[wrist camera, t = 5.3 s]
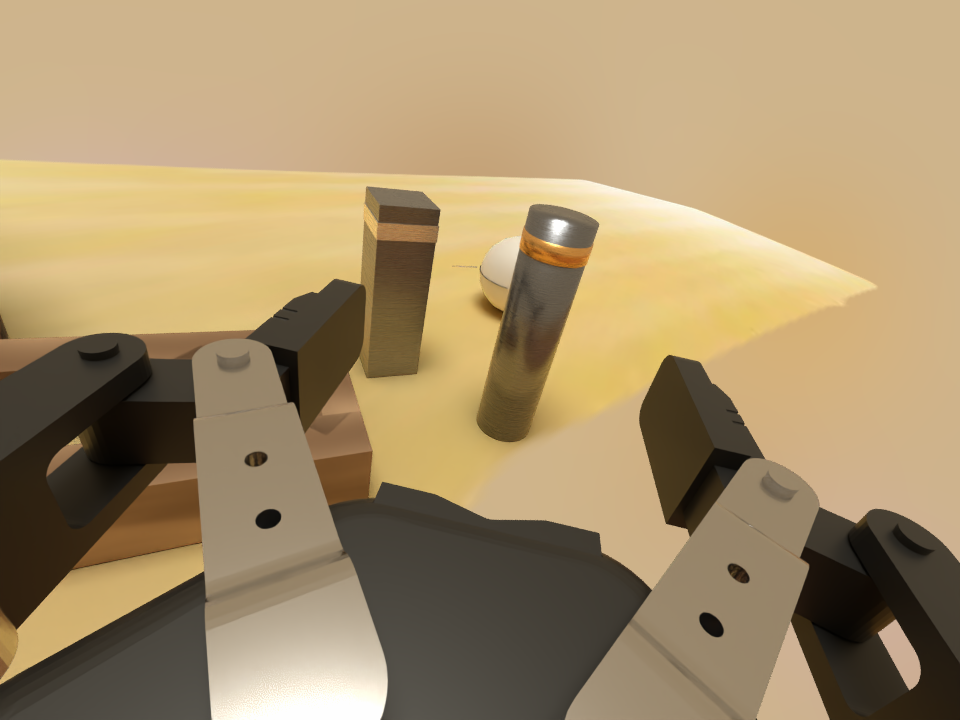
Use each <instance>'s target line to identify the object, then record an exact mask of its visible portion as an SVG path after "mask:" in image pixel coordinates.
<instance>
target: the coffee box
mask: <svg viewBox="0 0 960 720" xmlns="http://www.w3.org/2000/svg"><path fill="white" fill-rule="evenodd" d="M0 339H9V337H8V335H7V332H6V329H5V326H4V323H3V321H2V318H1V315H0Z"/></svg>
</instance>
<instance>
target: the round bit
mask: <svg viewBox="0 0 960 720" xmlns="http://www.w3.org/2000/svg"><path fill="white" fill-rule="evenodd" d="M598 227H599V223H598V222H597V221H596V220H594V219H593V218H591V217H589V216H587V215H585V214H582V213H580V212H577V211H574V210H570V209H567V208H563V207H558V206H553V205H544V204H537V205H532V206H530V208H529V212H528V216H527V220H526V224H525V226H524V228H523V232H522V236H521V240H520V244H519V247H520V248H519V252H518V256H517V260H516V264H515V268H514V272H513V276H512V280H511V284H510V288H509V292H508V296H507V300H506V304H505V308H504V312H503V315H502V319H501V323H500V327H499V331H498V335H497V339H496V343H495V347H494V351H493V355H492V359H491V363H490V367H489V371H488V375H487V379H486V383H485V387H484V391H483V395H482V399H481V403H480V407H479V411H478V415H477V423H478V425H479V427H480V428H481V430H482V431H483V432H484V433H486V434H487V435H489V436H490V437H492V438H494V439H497V440H500V441H507V442H513V441H518V440H521V439H523V438H524V437H525V436H526V435H527V434H528V432H529V429H530V426H531V423H532V420H533V417H534V414H535V411H536V408H537V405H538V402H539V399H540V397H541V394H542V391H543V388H544V385H545V382H546V379H547V376H548V373H549V370H550V367H551V364H552V361H553V358H554V356H555V353H556V350H557V347H558V344H559V341H560V338H561V335H562V332H563V329H564V326H565V323H566V320H567V318H568V315H569V312H570V309H571V306H572V303H573V300H574V297H575V294H576V291H577V288H578V285H579V282H580V279H581V277H582V274H583V271H584V268H585V265H586V264H587V262H588V259H589V256H590V253H591V250H592V247H593V241H594V239H595V236H596V233H597V230H598Z"/></svg>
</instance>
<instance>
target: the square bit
mask: <svg viewBox="0 0 960 720" xmlns="http://www.w3.org/2000/svg"><path fill="white" fill-rule="evenodd" d="M439 216H440V209H439V208H438V207H437V206H436V205H435V204H434V203H433V202H432V201H431V200H430V199H429V198H428V197H427V196H426V195H425V194H424V193H423V192H418V191H408V190H397V189H387V188H377V187H366V200H365V203H364V235H363V253H362V271H361V285H364V286H365V289H366V306H365V324H364V340H363V345H362V349H361V352H360V355H359V356H360V359H361V362H362V365H363V368H364V371H365V374H366V376H367V378H372V377H383V376H395V375H407V374H417V367H418V360H419V353H420V346H421V340H422V333H423V326H424V319H425V312H426V305H427V298H428V292H429V285H430V278H431V271H432V264H433V257H434V251H435V244H436V243H437V237H438V231H439V226H438V223H439Z"/></svg>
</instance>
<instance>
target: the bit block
mask: <svg viewBox="0 0 960 720" xmlns="http://www.w3.org/2000/svg"><path fill="white" fill-rule="evenodd" d="M254 331H255V330H247V331H219V332H191V333H164V334H136V335H132V336H135V337H138V338H140V339H141V340H143V341H144V343H145V344H146V347H147V351H148V355H149V358H154V359H192V358H193V356H194V354H195V353H196V352H197V351H198V350H199V349H200V348H202V347H204V346H205V345H208V344H210V343H213V342H216V341H220V340H225V339H236V338H237V339H245V338H247V337H248V336H249V335H250V334H251V333H253V332H254ZM80 337H84V336H80ZM80 337H53V338H25V339H0V380H2V379H4V378H6V377H7V376H9V375H11V374H12V373H14V372H16V371H18V370H19V369H21V368H23V367H25V366H26V365H28V364H30V363H31V362H33V361H35V360H37V359H38V358H40V357H42V356H44V355H45V354H47V353H49V352H50V351H52V350H54V349H56V348H57V347H59V346H61V345H63V344H65V343H67V342H69V341H71V340H74V339H77V338H80ZM305 436H306V439H307V443H308V446H309V449H310V452H311V455H312V458H313V461H314V464H315V467H316V470H317V473H318V476H319V479H320V482H321V485H322V488H323V491H324V494H325V497H326V500H327V503H328V506H329V505H332V504H335V503H339V502H343V501H348V500H354V499H365V498H368V494H369V484H370V473H371V462H372V448H371V444H370V441H369V438H368V435H367V431H366V428H365V425H364V421H363V418H362V415H361V412H360V408H359V405H358V402H357V398H356V395H355V392H354V389H353V385H352V382H351V379H350V376H349V372H348V373H347V375H346V376H345V378H344V379H343V380H342V382H341V383H340V385H339V386H338V388H337V389H336V390H335V392H334V393H333V395H332V396H331V397H330V399H329V400H328V402H327V403H326V404H325V406H324V407H323V409H322V410H321V412H320V413H319V414H318V416H317V417H316V419H315V420H314V421H313V423H312V424H311V426H310V427H309V428H308V430H307V431H306V433H305ZM81 447H83V446H82V444H74V445H66V446H65V447H63V448H62V449H61V450H60V451H59V452H58V453H57V454H56V455H55V456H54V458H53V459H52V460H51V462H50V464H49V467H48V470H47V476H48V475H49V474H50V473H52V472H53V471H54V470H55V469H56V468H58V467H59V466H60V465H61V464H62V463H64V462H65V461H66V460H67V459H68V458H69V457H71V456H72V455H73V454H74V453H75V452H77V451H78V450H79V449H80V448H81ZM47 476H46V477H47ZM200 542H202V533H201V519H200V505H199V492H198V478H197V465H196V463H171V464H167V466H166V467H165V468H164V469H163V470H162V471H161V472H160V473H159V474H158V475H157V476H156V478H155V479H154V480H153V481H152V482H151V483H150V484H149V485H148V486H147V487H146V489H145V490H144V491H143V492H142V493H141V494H140V495H139V496H138V497H137V498H136V499H135V501H134V502H133V503H132V504H131V505H130V506H129V507H128V508H127V509H126V510H125V511H124V513H123V514H122V515H121V516H120V517H119V518H118V519H117V520H116V521H115V522H114V524H113V525H112V526H111V527H110V528H109V529H108V530H107V531H106V532H105V533H104V534H103V536H102V537H101V538H100V539H99V540H98V541H97V542H96V543H95V544H94V545H93V547H92V548H91V549H90V550H89V551H88V552H87V553H86V554H85V555H84V556H83V557H82V559H81V560H80V561H79V562H78V563H77V564H76V565H75V566H74V567H73V568H72V569H76V568H80V567H85V566H90V565H95V564H100V563H104V562H109V561H114V560H119V559H124V558H128V557H133V556H138V555H143V554H147V553H152V552H157V551H162V550H167V549H171V548H176V547H181V546H186V545H190V544H195V543H200Z"/></svg>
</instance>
